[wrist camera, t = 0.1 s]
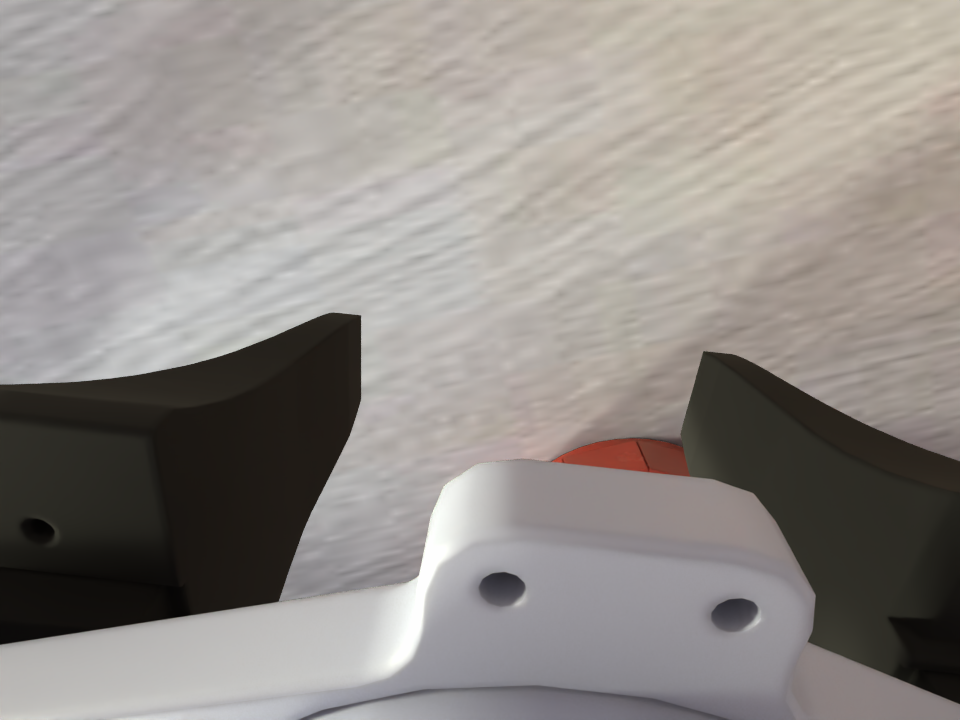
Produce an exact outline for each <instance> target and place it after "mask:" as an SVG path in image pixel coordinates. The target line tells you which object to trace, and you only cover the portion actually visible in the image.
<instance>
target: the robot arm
mask: <svg viewBox="0 0 960 720" xmlns="http://www.w3.org/2000/svg"><path fill="white" fill-rule="evenodd" d="M360 401H361V315H351V314H342V313H328V314H325V315H322V316H319V317H317V318H315V319H312V320H310V321H308V322H305V323H303V324H301V325H299V326H296V327H294V328H292V329H290V330H287V331H285V332H283V333H280V334H278V335H276V336H274V337H271V338H269V339H266V340H264V341H261V342H258V343H256V344H253V345H251V346H248V347H246V348H243V349H240V350H238V351H235V352H232V353H229V354H226V355H223V356H220V357H216V358H213V359H209V360H206V361H202V362H198V363H195V364H191V365H187V366H182V367H177V368H172V369H167V370H161V371H156V372H151V373H146V374H141V375H134V376H127V377H119V378H112V379H102V380H92V381H81V382H67V383H42V384H15V385H0V720H960V461H957V460H954V459H951V458H948V457H945V456H943V455H940V454H937V453H934V452H931V451H928V450H926V449H923V448H920V447H918V446H915V445H913V444H910V443H907V442H905V441H903V440H900V439H898V438H896V437H893V436H891V435H889V434H886V433H884V432H882V431H879V430H877V429H875V428H872V427H870V426H868V425H866V424H864V423H862V422H860V421H857V420H855V419H853V418H851V417H849V416H847V415H846V414H844V413H842V412H840V411H838V410H836V409H834V408H832V407H830V406H828V405H826V404H824V403H823V402H821V401H819V400H817V399H815V398H813V397H812V396H810V395H808V394H806V393H805V392H803V391H801V390H799V389H798V388H796V387H794V386H792V385H791V384H789V383H787V382H786V381H784V380H782V379H780V378H779V377H777V376H775V375H773V374H772V373H770V372H768V371H767V370H765V369H763V368H761V367H759V366H758V365H756V364H754V363H752V362H750V361H748V360H746V359H744V358H741V357H739V356H736V355H733V354H725V353H715V352H705V351H703V355H702V359H701V362H700V366H699V369H698V373H697V376H696V380H695V384H694V387H693V391H692V394H691V398H690V401H689V405H688V409H687V412H686V416H685V419H684V423H683V427H682V430H681V439H682V444H683V449H684V454H685V459H686V463H687V467H688V471H689V474H690V477H687V476H678V475H668V474H659V473H650V472H641V471H631V470H622V469H613V468H603V467H594V466H585V465H576V464H566V463H557V462H548V461H538V460H529V459H515V460H506V461H496V462H487V463H478V464H476V465H475V466H473V467H472V468H470V469H468V470H467V471H465V472H464V473H462V474H461V475H459V476H458V477H456V478H455V479H453V480H452V481H450V482H449V483H447V484H446V485H444V487H443V489H442V492H441V494H440V496H439V499H438V501H437V504H436V506H435V508H434V511H433V513H432V515H431V519H430V524H429V529H428V534H427V539H426V544H425V549H424V554H423V559H422V564H421V569H420V575H419V576H418V577H416V578H415V579H413V580H412V581H410V582H404V583H398V584H391V585H385V586H378V587H372V588H365V589H359V590H352V591H346V592H339V593H333V594H326V595H320V596H313V597H307V598H300V599H294V600H288V601H281V602H279V599H280V596H281V593H282V590H283V587H284V584H285V581H286V578H287V575H288V572H289V569H290V566H291V563H292V561H293V558H294V555H295V552H296V550H297V547H298V544H299V541H300V538H301V536H302V533H303V530H304V528H305V526H306V523H307V521H308V519H309V516H310V514H311V512H312V510H313V508H314V506H315V504H316V502H317V500H318V498H319V496H320V494H321V492H322V490H323V488H324V486H325V484H326V482H327V480H328V478H329V476H330V474H331V472H332V470H333V468H334V466H335V464H336V462H337V460H338V458H339V456H340V454H341V452H342V450H343V448H344V446H345V444H346V442H347V440H348V438H349V436H350V433H351V430H352V427H353V424H354V421H355V418H356V415H357V411H358V408H359V405H360Z"/></svg>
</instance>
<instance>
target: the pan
mask: <svg viewBox="0 0 960 720" xmlns="http://www.w3.org/2000/svg"><path fill="white" fill-rule="evenodd" d="M552 462H557V463H566V464H576V465H585V466H594V467H603V468H613V469H622V470H631V471H641V472H650V473H659V474H668V475H678V476H687V477H690V474H689V471H688V467H687V463H686V459H685V454H684V449H683V447H681V446H678V445H675V444H672V443H668V442H663V441H657V440H652V439H638V438H628V439H613V440H607V441H602V442H596V443H593V444H590V445H586V446H583V447H580V448H577V449H575V450H573V451H570V452H568V453H566V454H564V455H562V456H560V457H558V458H557V459H555V460H553V461H552Z"/></svg>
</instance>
